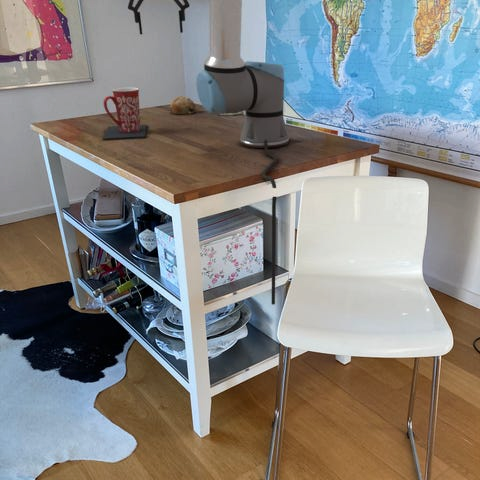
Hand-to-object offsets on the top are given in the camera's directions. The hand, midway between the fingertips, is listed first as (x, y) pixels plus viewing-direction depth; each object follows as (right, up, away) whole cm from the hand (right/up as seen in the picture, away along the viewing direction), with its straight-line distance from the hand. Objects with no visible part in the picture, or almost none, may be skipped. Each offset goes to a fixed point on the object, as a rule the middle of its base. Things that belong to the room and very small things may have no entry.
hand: (161, 33), depth 175 cm
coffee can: (+22, -13, +35) cm, 44 cm away
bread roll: (+3, -12, +38) cm, 40 cm away
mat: (-14, -31, +8) cm, 35 cm away
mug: (-14, -31, +7) cm, 34 cm away
